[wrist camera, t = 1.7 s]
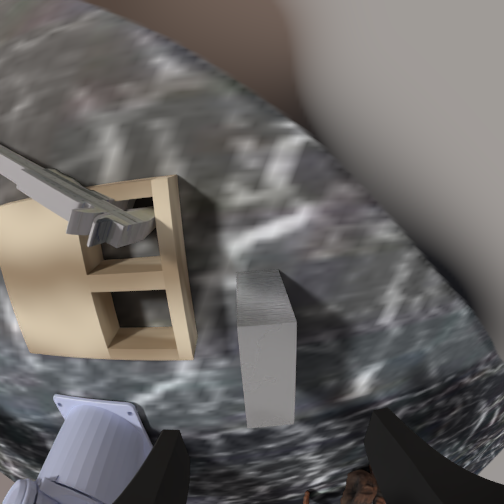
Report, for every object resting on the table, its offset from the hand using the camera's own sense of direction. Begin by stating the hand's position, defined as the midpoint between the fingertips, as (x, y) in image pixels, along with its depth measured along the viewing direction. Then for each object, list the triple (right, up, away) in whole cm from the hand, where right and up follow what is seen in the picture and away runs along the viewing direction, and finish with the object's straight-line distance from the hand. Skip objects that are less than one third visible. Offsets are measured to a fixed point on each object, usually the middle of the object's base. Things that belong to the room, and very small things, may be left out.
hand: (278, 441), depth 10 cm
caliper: (-15, +13, +5) cm, 21 cm away
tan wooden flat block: (-11, +6, +8) cm, 14 cm away
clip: (-1, +3, +9) cm, 10 cm away
